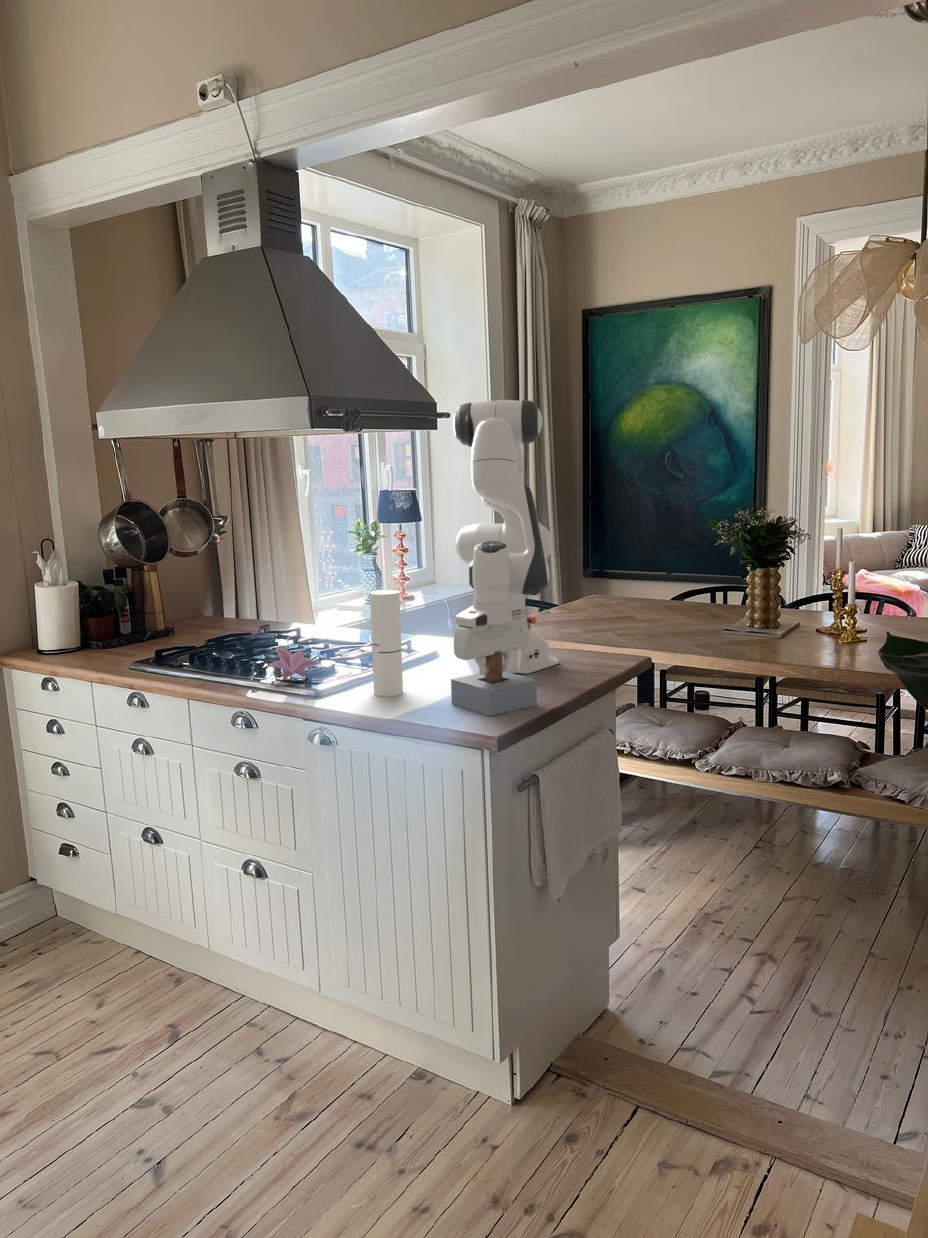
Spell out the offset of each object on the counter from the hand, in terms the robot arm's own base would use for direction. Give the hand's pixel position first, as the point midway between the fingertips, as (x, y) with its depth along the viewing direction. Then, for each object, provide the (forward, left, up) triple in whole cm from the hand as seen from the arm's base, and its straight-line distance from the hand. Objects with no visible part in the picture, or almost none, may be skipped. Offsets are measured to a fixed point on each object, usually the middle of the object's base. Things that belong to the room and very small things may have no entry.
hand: (493, 672), depth 214 cm
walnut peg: (0, 0, -5) cm, 5 cm away
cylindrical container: (+12, -26, -8) cm, 30 cm away
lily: (+24, -52, -8) cm, 58 cm away
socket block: (0, 0, -8) cm, 8 cm away
